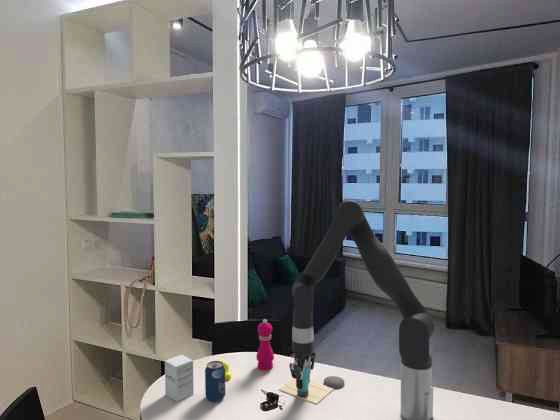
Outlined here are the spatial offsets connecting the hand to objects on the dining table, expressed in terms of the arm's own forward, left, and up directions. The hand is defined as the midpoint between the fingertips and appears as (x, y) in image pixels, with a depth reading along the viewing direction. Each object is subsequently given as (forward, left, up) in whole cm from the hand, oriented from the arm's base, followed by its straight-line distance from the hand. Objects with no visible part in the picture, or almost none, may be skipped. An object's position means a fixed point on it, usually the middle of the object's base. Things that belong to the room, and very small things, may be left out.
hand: (303, 385), depth 135 cm
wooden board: (+1, -4, -4) cm, 5 cm away
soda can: (+24, +19, -4) cm, 31 cm away
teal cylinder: (0, 0, -3) cm, 3 cm away
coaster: (-5, -14, -4) cm, 15 cm away
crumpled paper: (+33, +8, -4) cm, 34 cm away
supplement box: (+36, +25, -4) cm, 44 cm away
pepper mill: (+24, -9, -4) cm, 26 cm away
